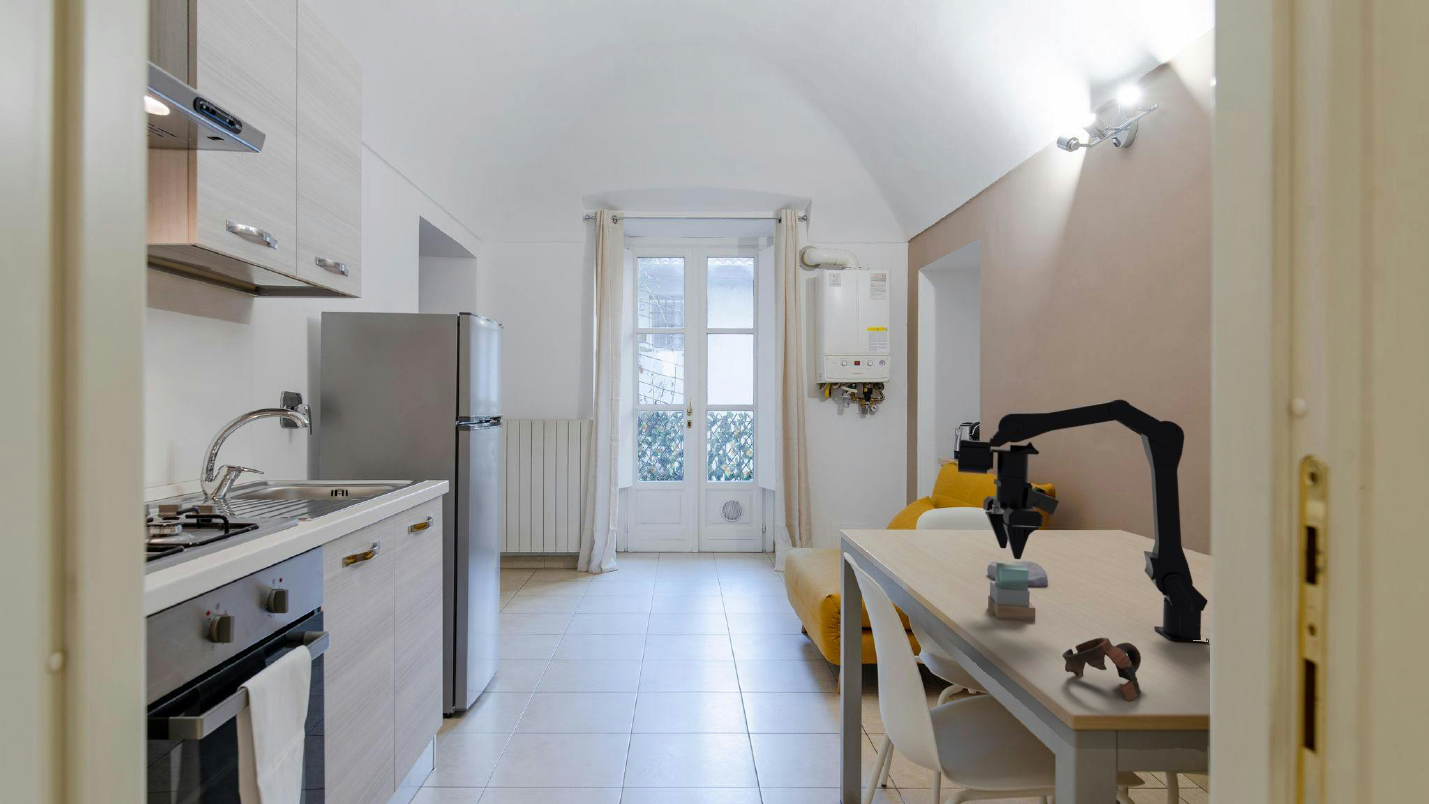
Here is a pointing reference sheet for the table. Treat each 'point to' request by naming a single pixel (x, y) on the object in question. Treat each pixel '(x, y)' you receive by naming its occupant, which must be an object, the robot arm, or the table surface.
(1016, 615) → the walnut base block
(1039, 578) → the stone block
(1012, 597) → the grey middle block
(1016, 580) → the teal block
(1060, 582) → the table surface
